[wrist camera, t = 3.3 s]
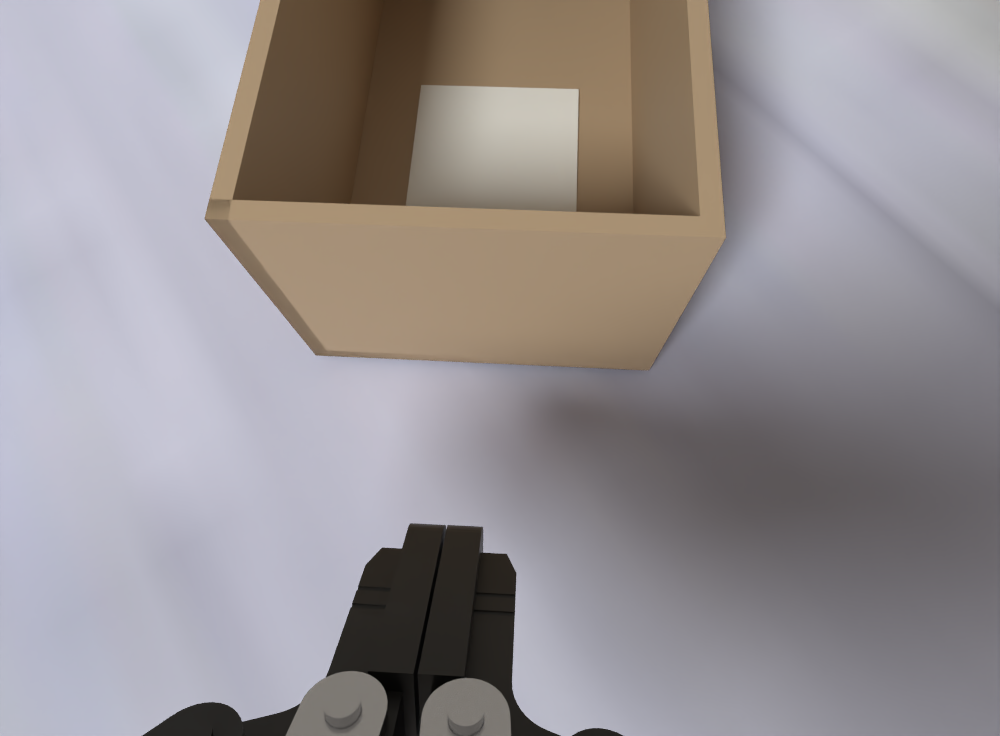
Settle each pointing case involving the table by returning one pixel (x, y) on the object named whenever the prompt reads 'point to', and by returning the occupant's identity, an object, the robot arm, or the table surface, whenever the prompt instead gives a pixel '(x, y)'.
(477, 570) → the robot arm
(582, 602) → the table surface
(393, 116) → the wooden drawer
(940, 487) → the table surface
